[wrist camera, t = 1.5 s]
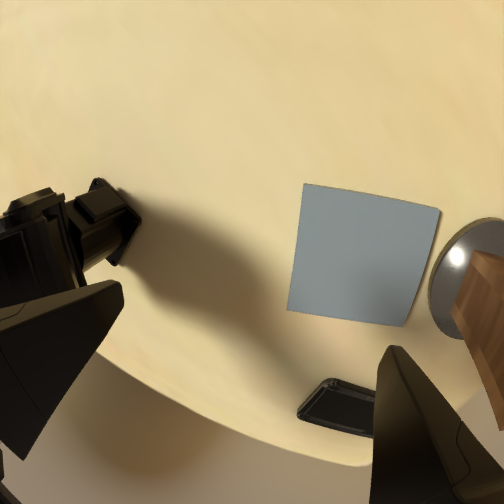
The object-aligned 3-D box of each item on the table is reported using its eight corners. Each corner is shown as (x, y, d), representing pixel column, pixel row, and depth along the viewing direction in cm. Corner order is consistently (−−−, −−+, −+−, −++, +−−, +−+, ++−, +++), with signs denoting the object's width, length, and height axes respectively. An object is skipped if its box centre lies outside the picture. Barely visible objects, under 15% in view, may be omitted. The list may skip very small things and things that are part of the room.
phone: (327, 380, 24) (433, 411, 23) (327, 372, 25) (432, 404, 24) (292, 417, 28) (392, 443, 27) (294, 410, 29) (392, 436, 28)
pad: (287, 306, 23) (286, 310, 22) (303, 183, 19) (303, 184, 18) (401, 322, 21) (402, 327, 20) (437, 208, 17) (440, 210, 16)
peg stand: (409, 328, 21) (419, 359, 17) (449, 204, 16) (474, 219, 13) (496, 335, 19) (510, 361, 15) (537, 231, 14) (562, 249, 11)
